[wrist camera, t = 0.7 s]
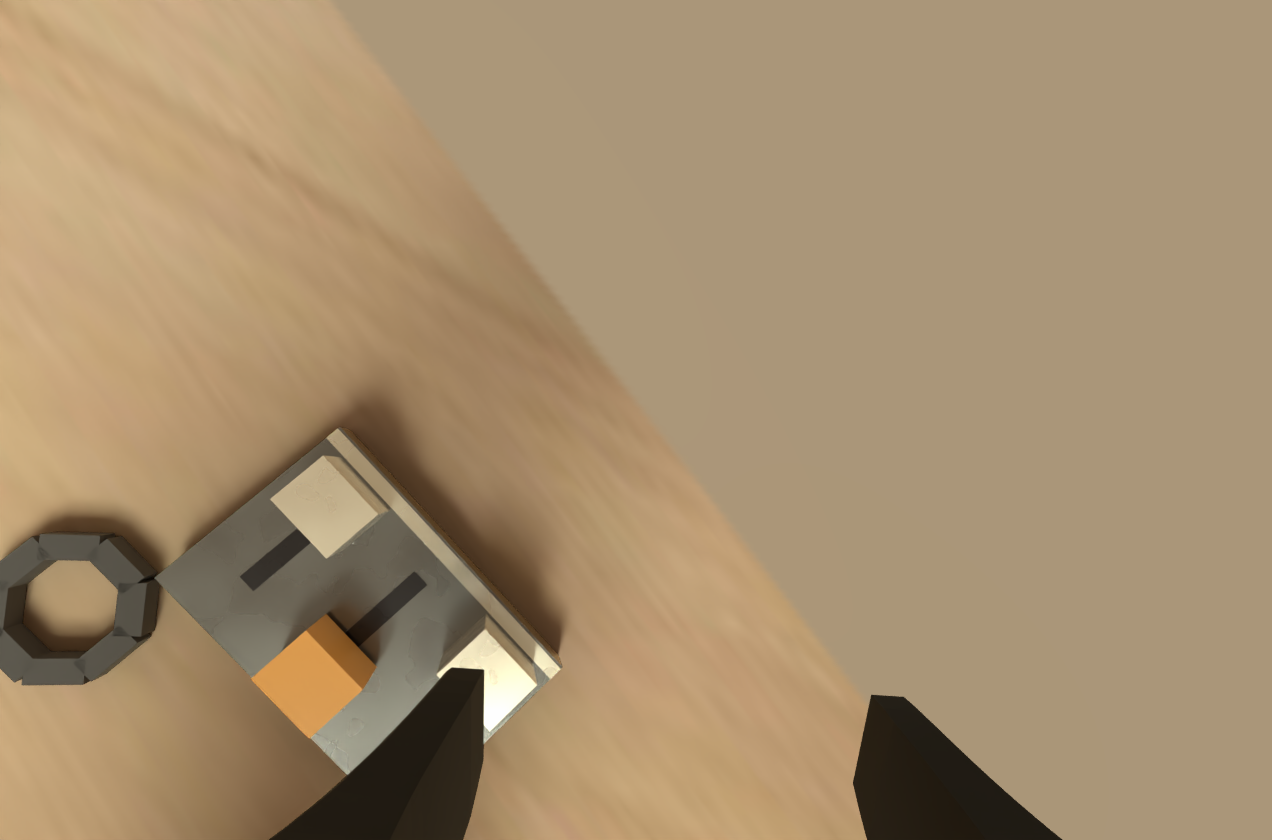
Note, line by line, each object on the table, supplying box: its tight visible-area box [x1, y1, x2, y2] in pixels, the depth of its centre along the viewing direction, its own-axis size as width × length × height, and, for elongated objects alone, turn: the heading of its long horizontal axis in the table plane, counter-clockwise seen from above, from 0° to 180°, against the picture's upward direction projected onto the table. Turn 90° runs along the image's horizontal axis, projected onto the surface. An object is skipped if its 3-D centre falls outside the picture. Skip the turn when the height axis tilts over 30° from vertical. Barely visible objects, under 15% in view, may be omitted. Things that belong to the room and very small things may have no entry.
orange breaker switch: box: [251, 614, 377, 739], centre depth 26 cm, size 2×3×3 cm
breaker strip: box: [155, 427, 562, 775], centre depth 28 cm, size 9×14×5 cm, turn 43°
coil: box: [0, 532, 159, 685], centre depth 27 cm, size 6×6×1 cm
